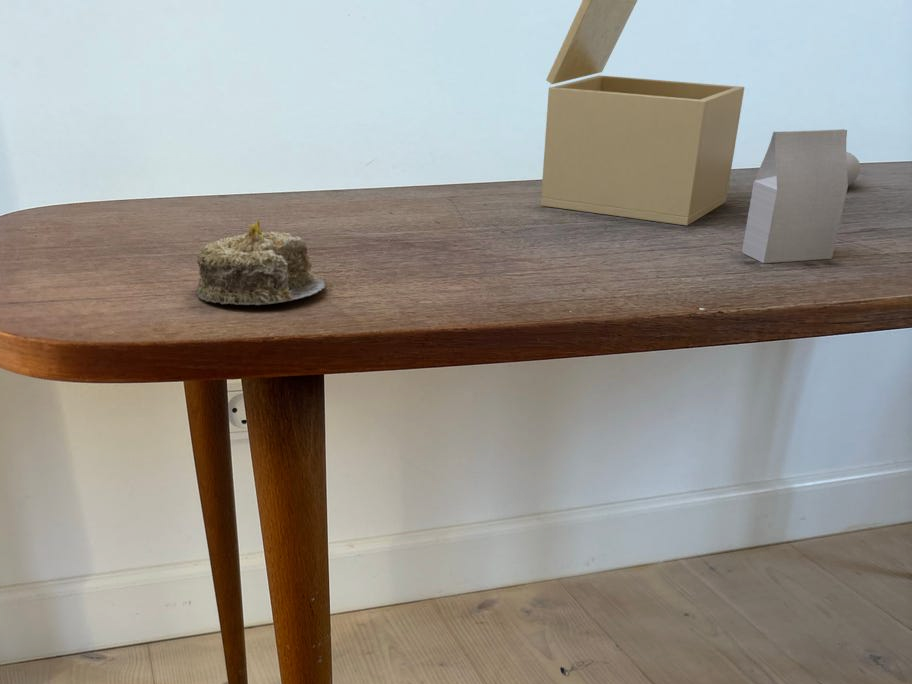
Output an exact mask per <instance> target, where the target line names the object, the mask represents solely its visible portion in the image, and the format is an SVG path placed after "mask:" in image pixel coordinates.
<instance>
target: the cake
mask: <svg viewBox="0 0 912 684" xmlns="http://www.w3.org/2000/svg"><path fill="white" fill-rule="evenodd" d="M260 224H261V223H260V221H259V220H255V221H254V223H253V224H251V225H250V227H248V232H247V233H243V234H239V235H234V236H232V237H230V236H227V237H224V238H223V239H222V238H219V239H217V240H215V241H213V242H210V243H207V244H206V245H204V246H202V248H201V250H200V251H199V252H198V253H197V256H196V257H197V258H196V262H197V265H198V267H199V272H198V274H199V275H200V277H199V278H198V284H197V288H196V290H195V296H196V297H197V298H199V299H200V300H203V301H205V302H206V303H207V302H210V303H214V304H216V303H217V304H218V303H219V304H220V305H228V304H229V305H237V306H240V305H241V306H252V305H254V306H261V305H263V306H264V305H265V306H266V305H273V304H279V303H280V304H281V303H286V302H292V301H295V300H299V299H304V298H307V297H310V296H313V295H315V294H318V293H319V292H321V291H322V290H323V289H325V286H326V283H325V281H324V280H323V279H321V278H318V277H317V276H316V275H315V273H314V271H312V266H313V265H314V263H313V262H312V261H310V256H309V251H308V250H309V249H308V245H307V241H305V240H304V239H302V238H301V237H300V236H297V235H295V236H292V234H291V233H290V232H282V233H280V232H279V231H273V230H272V231H270V232H263V230H261V225H260Z"/></svg>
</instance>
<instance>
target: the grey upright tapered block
mask: <svg viewBox="0 0 912 684" xmlns="http://www.w3.org/2000/svg"><path fill="white" fill-rule="evenodd" d="M847 136H848V129H842V128H841V129H816V130H815V129H814V130H788V131H787V130H786V131H773V132H772V135H771V139H770V142H769V144H768V148H767V150H766V152H765V155H764V158H763V159H762V162H761V164H760V167H759V168H758V171H757V173H756V176H755V178H754V181H753V185H752V191H751V197H750V204H749V208H748V215H747V220H746V226H745V231H744V237H743V241H742V242H743V243H742V249H741V253H742V254H743V255H746V256H748V257H749V258H752V259H754V260H756V261H758V262H759V263H761V264H773V263H787V262H788V263H789V262H790V263H791V262H802V261H803V262H804V261H819V260H831V259H833V255H834V252H835V247H836V243H837V237H838V233H839V229H840V224H841V220H842V215H843V210H844V205H845V202H846V201H845V200H846V197H847V192H848V188H849V186H848V179H847V158H846V152H847V138H848V137H847Z"/></svg>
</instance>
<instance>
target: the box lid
mask: <svg viewBox="0 0 912 684" xmlns="http://www.w3.org/2000/svg"><path fill="white" fill-rule="evenodd" d="M637 2H638V0H582V1H581V2H580V4H579V7H578V9H577V12H576V13H575V16H574V18H573V20H572V22H571V24H570V27H569V29H568V31H567V33H566V36H565V37H564V40H563V42H562V45H561V46H560V48H559V50H558V53H557V55H556V58H555V60H554V61H553V64H552V66H551V68H550V70H549V73H548V75H547V76H546V79H545V80H546V81H547V82H548V83H550V84H551V85H555V84H559V83H560V84H561V83H563V82H567V81H571V80H575V79H581V78H584V77H588V76H593V75H596V74H600V73H603V71H604V69H605V67H606V65H607V63H608V61H609V59H610V57H611V55H612V53H613V51H614V49H615V47H616V45H617V43H618V41H619V38H620V37H621V35H622V33H623V30H624V28H626V27H625V26H626V24H627V22H628V20H629V19H630V17H631V15H632V13H633V10H634V8H635V6H636V4H637Z"/></svg>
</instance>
